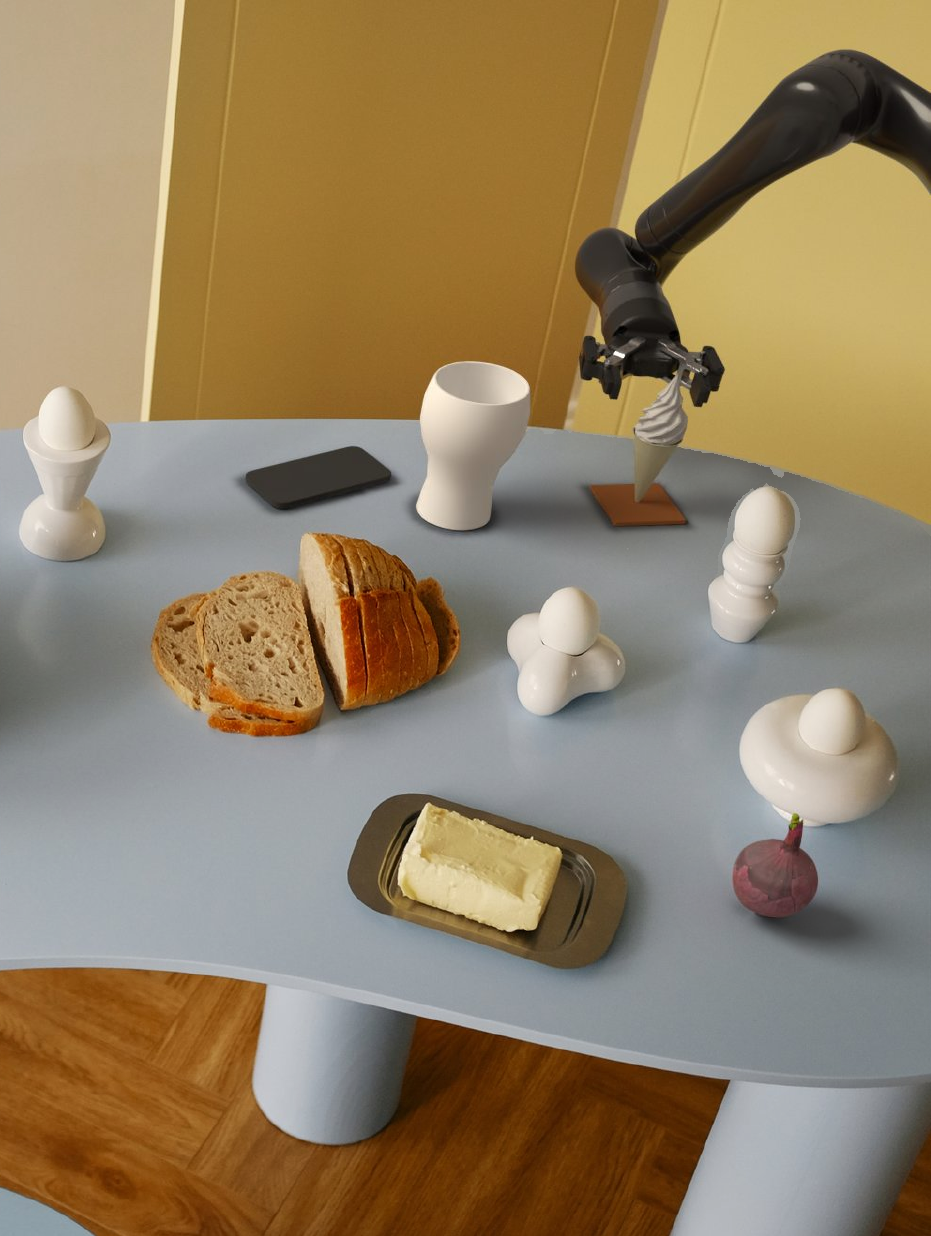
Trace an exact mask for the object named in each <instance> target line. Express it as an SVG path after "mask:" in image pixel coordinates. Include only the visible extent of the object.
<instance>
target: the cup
mask: <svg viewBox="0 0 931 1236" xmlns="http://www.w3.org/2000/svg"><path fill="white" fill-rule="evenodd" d="M530 416H531V387H530V384H529V382H528V380H527V379H525V377H524V376H522V375H521V374H519V372H516V371H515V370H513V369H511V368H508V367H506V366H503V365H499V364H495V363H491V362H484V361H475V360H474V361H471V360H467V361H456V362H452V363H449V364H445V365H443V366H441V367H440V368H438V369H437V370H436V371H435V372H434V373H433V375H432V377H431V380H430V382H429V384H428V386H427V388H426V390H425V393H424V396H423V399H422V404H421V409H420V415H419V423H420V424H419V425H420V434H421V438H422V439H421V440H422V441H423V445H424V448H425V451H426V454H427V472H426V473H427V474H426V477H425V480H424V482H423V485H422V488H421V490H420V493H419V495H418V499H417V501H416V505H415V508H416V512H417V514H419V516H420V517H421V518H422V519H423V520H425V521H426V522H428V523H430V524H432V525H434V526H436V527H439V528H443V529H447V530H452V531H470V530H476V529H479V528H482V527H483V526H485V525H487V524H488V523H489V522H490V520H491V516H492V508H493V507H492V506H493V488H494V485H495V482H496V479H497V477H498V474H499V472H500V470H501V468H502V467H504V465H505V464H506V463H507V461H508V460H509V459H510V458H511V457H512V456H513V455H514V453H515V452H516V450H517V449H518V448H519V445H520V444H521V442H522V441H523V439H524V438H525V435H526V433H527V429H528V424H529V420H530Z"/></svg>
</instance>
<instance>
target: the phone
mask: <svg viewBox="0 0 931 1236" xmlns="http://www.w3.org/2000/svg"><path fill="white" fill-rule="evenodd" d="M391 476H392V471H391V470H390V469H389V468H388V467H386V465H384V464H383V463H382V462H380V460H378V459H377V458H375V457H374V456H373V455H371V454H370V453H369V452H367V451H366V450H365V449H364V448H363V447H360V446H356V445H349V446H344V447H340V448H337V449H333V450H329V451H325V452H321V453H317V454H313V455H308V456H304V457H300V458H297V459H293V460H288V461H284V462H280V463H276V464H273V465H267V466H265V467H261V468H257V469H252V470H250V471H247V472H246V473H245V483H246V484H247V485H248V486H250V488H251V489H253V490H254V491H255V492H256V493H257V494H258V495H259V496H261V497H262V498H263V500H265V501H266V502H267V503H269V505H271V506H272V507H274V508H277V509H288V508H291V507H296V506H299V505H304V504H307V503H311V502H315V501H318V500H319V501H320V500H324V499H326V498H330V497H335V496H338V495H342V494H346V493H349V492H354V491H358V490H361V489H365V488H369V487H373V486H377V485H381V484H383V483H387V482H389V481H390V480H391V478H392V477H391Z"/></svg>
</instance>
